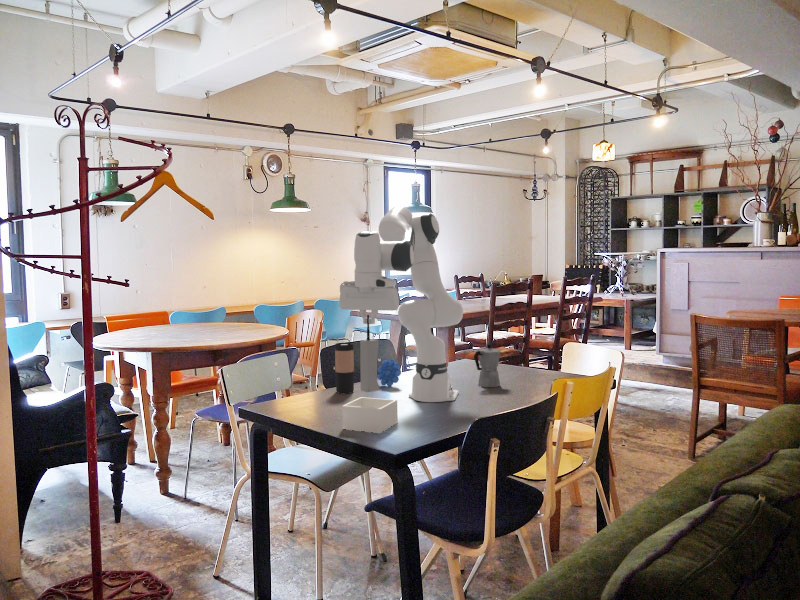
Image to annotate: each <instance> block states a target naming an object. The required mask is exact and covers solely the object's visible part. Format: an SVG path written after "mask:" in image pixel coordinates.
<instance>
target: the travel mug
mask: <svg viewBox="0 0 800 600" xmlns="http://www.w3.org/2000/svg"><path fill="white" fill-rule="evenodd" d="M334 354H335V355H334V365H335V369H334V370H335V371H334V373H335V391H337V392H339V393H338V394H341V393H347V394H350V393H349V392H352V393H354V392H355V390H354V389H355V388H354V387H355V361H354V357H355V356H354V354H355V353H354V343H351V342H337V343H334ZM353 391H354V392H353ZM337 392H336V393H337Z"/></svg>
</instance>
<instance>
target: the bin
mask: <svg viewBox="0 0 800 600" xmlns="http://www.w3.org/2000/svg"><path fill="white" fill-rule="evenodd" d="M341 414H342V416H341V417H342V418H341V419H342V428H341V429H342V430H343V429H346V430H345V431H352V430H354V431H353V432H361V431H365V432H364V433H371V432H373V434H380V433H381V434H383V433H384V432H386V431H387V430H389V429H391V428H392V427H394V426H395V425H397V424H398V400H397V399H389V398H378V397H377V398H375V397H365V396H360V397H358V398H356V399H354V400H351V401H349V402H347V403H345V404H343V405H341ZM396 423H397V424H396ZM394 424H395V425H394ZM393 425H394V426H393ZM391 426H392V427H391ZM388 428H389V429H388ZM386 429H387V430H386ZM385 430H386V431H385ZM383 431H384V432H383Z"/></svg>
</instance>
